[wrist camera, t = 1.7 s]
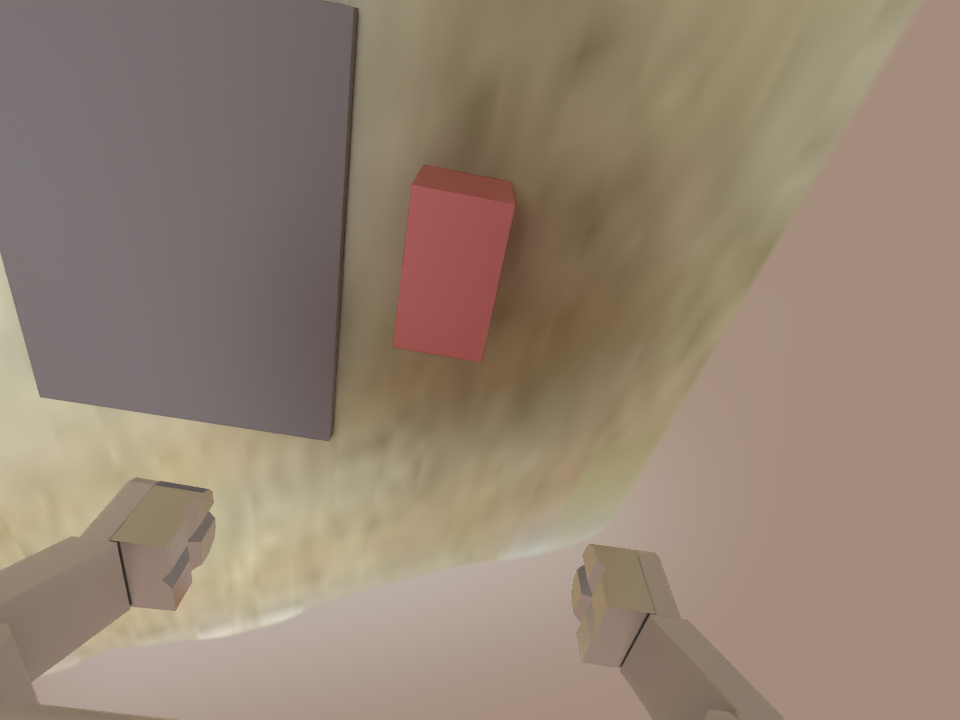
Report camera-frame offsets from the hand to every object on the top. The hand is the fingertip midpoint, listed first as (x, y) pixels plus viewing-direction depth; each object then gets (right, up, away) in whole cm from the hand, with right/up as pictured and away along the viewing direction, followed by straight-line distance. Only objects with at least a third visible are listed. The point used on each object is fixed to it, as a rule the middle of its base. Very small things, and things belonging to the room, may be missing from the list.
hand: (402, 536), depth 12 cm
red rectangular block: (0, +10, +17) cm, 20 cm away
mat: (-15, +11, +17) cm, 25 cm away
